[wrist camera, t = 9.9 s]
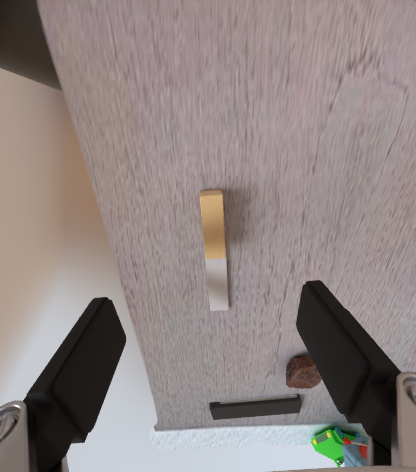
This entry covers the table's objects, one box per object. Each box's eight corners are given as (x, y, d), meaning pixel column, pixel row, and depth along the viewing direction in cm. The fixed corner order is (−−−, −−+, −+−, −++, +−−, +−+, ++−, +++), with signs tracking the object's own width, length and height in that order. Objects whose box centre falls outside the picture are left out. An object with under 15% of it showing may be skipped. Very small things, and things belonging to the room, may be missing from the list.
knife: (198, 190, 21) (197, 196, 18) (222, 188, 21) (224, 194, 18) (210, 308, 28) (210, 324, 26) (228, 307, 28) (230, 323, 26)
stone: (293, 346, 32) (302, 366, 29) (331, 354, 33) (343, 375, 30) (274, 369, 34) (281, 390, 31) (310, 377, 35) (319, 397, 33)
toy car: (364, 434, 44) (388, 480, 38) (341, 445, 47) (360, 490, 41) (329, 424, 42) (350, 471, 36) (307, 436, 44) (323, 482, 38)
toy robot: (524, 489, 34) (388, 570, 27) (435, 431, 45) (324, 479, 38) (507, 409, 34) (371, 469, 28) (424, 371, 46) (314, 408, 39)
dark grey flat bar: (209, 400, 39) (213, 412, 41) (209, 408, 38) (213, 420, 40) (298, 392, 38) (297, 404, 40) (301, 400, 37) (300, 412, 39)
